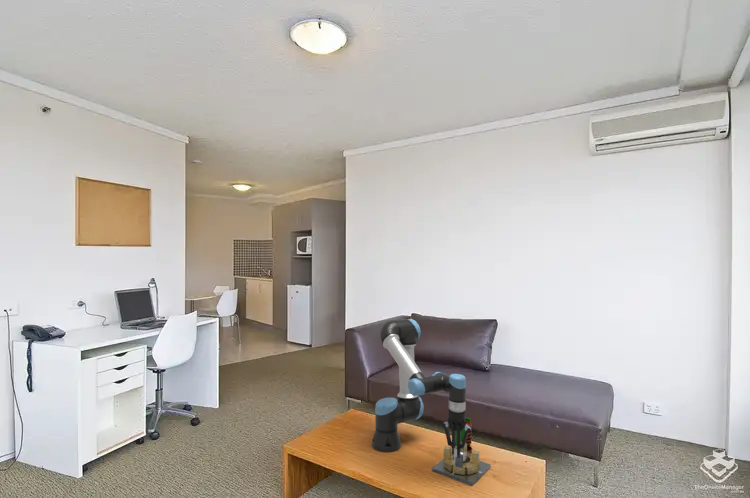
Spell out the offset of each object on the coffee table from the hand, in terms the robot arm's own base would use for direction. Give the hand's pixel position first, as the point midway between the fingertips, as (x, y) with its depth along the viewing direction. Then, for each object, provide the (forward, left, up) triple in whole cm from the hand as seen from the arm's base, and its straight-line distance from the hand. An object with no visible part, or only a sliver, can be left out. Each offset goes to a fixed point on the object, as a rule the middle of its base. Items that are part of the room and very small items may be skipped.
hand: (455, 462), depth 186 cm
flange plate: (0, +7, -6) cm, 9 cm away
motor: (-7, +23, -6) cm, 25 cm away
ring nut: (0, +7, -4) cm, 8 cm away
